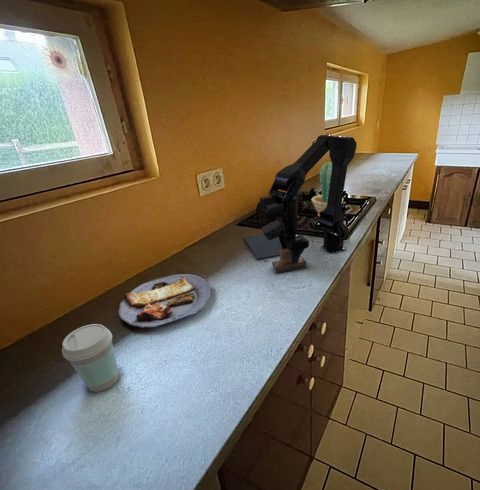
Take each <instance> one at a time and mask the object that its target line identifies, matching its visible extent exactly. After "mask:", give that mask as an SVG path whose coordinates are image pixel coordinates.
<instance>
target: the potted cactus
mask: <svg viewBox="0 0 480 490" xmlns="http://www.w3.org/2000/svg"><path fill="white" fill-rule="evenodd" d="M331 172H332V162H331V161H328V162H324V164H323V165H322V166H321V168H320V170H319V183H320V186H321V189H320V190H321V194H318V195H315V196H313V197H312V198H311V203H312V204H313V206H314V209H315V211H316V212H317V216H318V217H319V218H320V212H321V211H324V209H325V208H326V207H327V201H328V194H329V187H330V179H331ZM344 200H345V199H344V197H343V198H342V204H343V203H344Z"/></svg>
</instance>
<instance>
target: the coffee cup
mask: <svg viewBox="0 0 480 490" xmlns="http://www.w3.org/2000/svg"><path fill="white" fill-rule="evenodd" d="M61 353H62V357H63V358H64V359H65V360H67V361H68V362H69V363H70V365H71V366H72V367H73V369H74V370H75V372H76V373H77V374H78V376H79V377H80V378H81V380H82V381H83V383H84V384H85V385H86V386H87V388H88V389H89V391H91V392H96V393H98V392H103V391H106V390H107V389H110V388H111V387H112V386H114V385H115V384H116V382H117V381H118V379H119V377H120V373H119V368H118V363H117V359H116V354H115V350H114V345H113V334H112V332H111V331H110V329H108V328H107V327H106V326H105V325H103V324H100V323H91V324H87V325H83V326H80V327H78V328H76V329H75V330H72V331H71V332H70V333H69V334H67V335H66V336H65V338H64V339H63V341H62V348H61Z"/></svg>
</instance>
